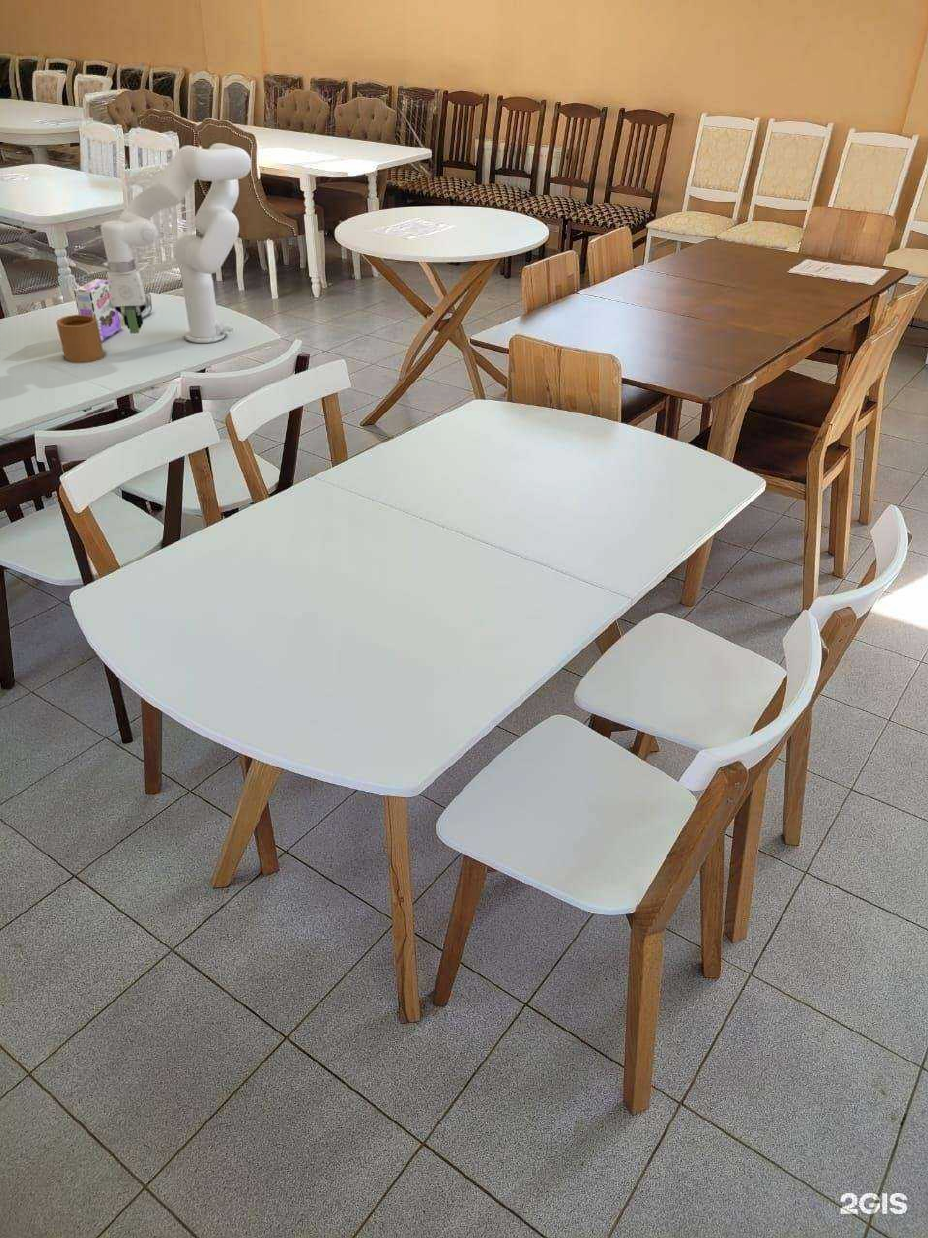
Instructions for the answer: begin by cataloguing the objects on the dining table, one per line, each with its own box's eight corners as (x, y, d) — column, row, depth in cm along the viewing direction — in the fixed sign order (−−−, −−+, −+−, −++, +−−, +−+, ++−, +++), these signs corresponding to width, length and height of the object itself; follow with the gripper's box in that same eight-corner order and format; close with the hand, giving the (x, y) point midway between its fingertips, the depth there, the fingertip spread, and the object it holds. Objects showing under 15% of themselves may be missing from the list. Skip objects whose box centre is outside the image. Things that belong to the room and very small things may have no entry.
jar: (106, 348, 290) (98, 314, 283) (100, 361, 280) (93, 325, 274) (68, 350, 288) (60, 315, 281) (62, 362, 279) (53, 327, 272)
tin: (147, 311, 321) (142, 286, 316) (155, 312, 321) (151, 287, 316) (125, 324, 309) (120, 299, 304) (134, 325, 309) (129, 300, 304)
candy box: (100, 343, 294) (89, 290, 284) (83, 341, 295) (72, 289, 285) (122, 329, 305) (112, 279, 295) (106, 328, 306) (95, 277, 296)
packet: (140, 327, 286) (135, 301, 281) (138, 333, 282) (133, 307, 277) (132, 327, 286) (126, 301, 281) (130, 333, 281) (124, 307, 276)
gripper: (92, 270, 268) (106, 332, 279) (148, 268, 270) (160, 329, 281) (95, 263, 274) (109, 324, 285) (151, 261, 276) (162, 321, 287)
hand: (134, 326), depth 283 cm, fingers closed on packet, 2 cm apart
